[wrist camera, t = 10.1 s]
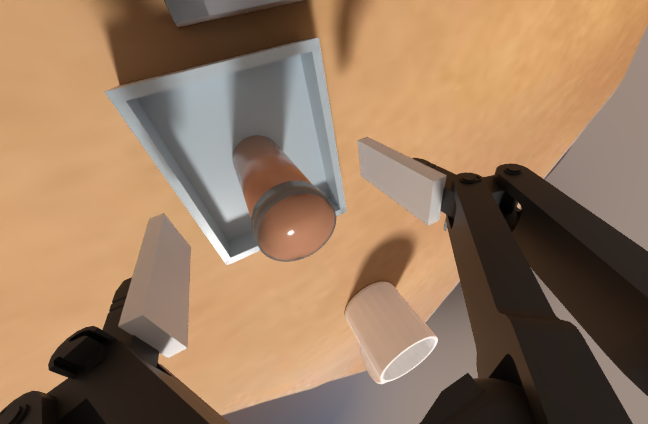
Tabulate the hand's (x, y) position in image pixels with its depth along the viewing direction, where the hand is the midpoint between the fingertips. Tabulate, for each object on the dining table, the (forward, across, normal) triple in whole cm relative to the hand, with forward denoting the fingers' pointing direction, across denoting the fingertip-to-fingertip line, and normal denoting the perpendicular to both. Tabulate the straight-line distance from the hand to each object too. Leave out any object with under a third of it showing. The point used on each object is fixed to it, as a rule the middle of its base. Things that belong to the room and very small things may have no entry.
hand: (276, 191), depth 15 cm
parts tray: (+6, 0, 0) cm, 6 cm away
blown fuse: (+6, 0, 0) cm, 6 cm away
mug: (+7, +8, -32) cm, 34 cm away
